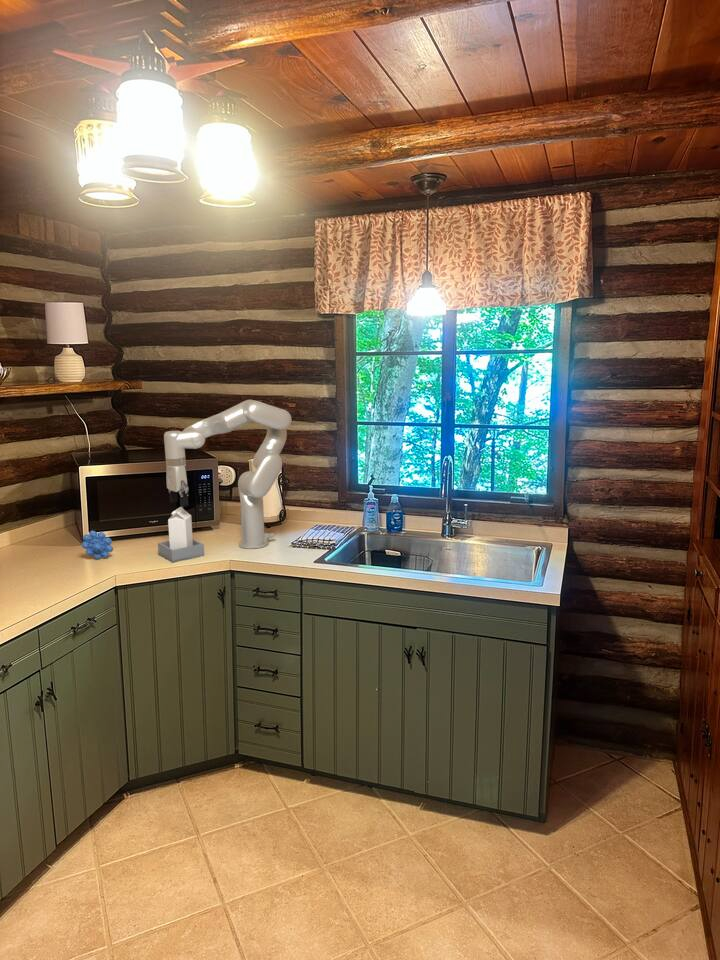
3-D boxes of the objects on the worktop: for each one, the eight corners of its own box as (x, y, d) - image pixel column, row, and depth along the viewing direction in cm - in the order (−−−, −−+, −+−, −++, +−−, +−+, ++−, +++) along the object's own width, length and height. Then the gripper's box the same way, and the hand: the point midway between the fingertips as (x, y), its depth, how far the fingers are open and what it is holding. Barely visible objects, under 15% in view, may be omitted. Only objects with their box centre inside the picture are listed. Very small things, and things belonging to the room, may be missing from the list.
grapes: (82, 563, 270) (79, 534, 268) (83, 559, 277) (80, 530, 274) (113, 560, 274) (111, 531, 272) (114, 556, 280) (111, 527, 278)
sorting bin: (189, 548, 290) (188, 537, 289) (204, 555, 279) (203, 544, 278) (158, 554, 281) (157, 543, 280) (172, 562, 271) (171, 550, 270)
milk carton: (193, 551, 283) (190, 505, 280) (187, 556, 276) (184, 510, 273) (176, 550, 284) (173, 505, 280) (170, 555, 277) (167, 509, 273)
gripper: (158, 460, 277) (161, 502, 281) (176, 466, 264) (179, 509, 267) (175, 458, 282) (178, 499, 285) (194, 463, 269) (197, 506, 272)
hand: (179, 504), depth 276 cm, fingers open, 9 cm apart
